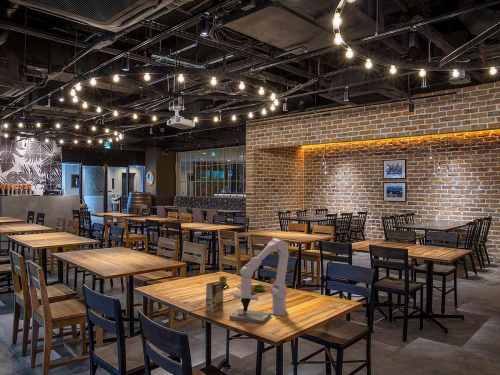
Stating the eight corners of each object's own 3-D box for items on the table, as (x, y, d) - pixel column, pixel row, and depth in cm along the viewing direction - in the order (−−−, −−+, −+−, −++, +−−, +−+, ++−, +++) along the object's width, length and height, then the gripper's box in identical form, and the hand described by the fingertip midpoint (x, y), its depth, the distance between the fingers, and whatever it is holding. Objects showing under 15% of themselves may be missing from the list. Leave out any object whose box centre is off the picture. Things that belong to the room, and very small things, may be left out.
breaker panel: (229, 319, 220) (229, 315, 220) (239, 312, 233) (239, 308, 233) (262, 324, 212) (262, 320, 212) (271, 316, 225) (271, 313, 226)
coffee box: (212, 312, 232) (213, 285, 232) (205, 310, 236) (205, 283, 236) (223, 308, 239) (223, 282, 240) (216, 306, 243) (216, 281, 244)
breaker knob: (237, 314, 222) (237, 308, 222) (241, 311, 228) (241, 305, 228) (242, 314, 221) (242, 309, 221) (246, 311, 227) (246, 306, 227)
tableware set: (204, 286, 296) (204, 278, 296) (231, 281, 315) (231, 273, 316) (242, 297, 267) (242, 288, 267) (269, 290, 286) (269, 282, 286)
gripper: (231, 288, 223) (231, 311, 223) (255, 290, 217) (255, 315, 217) (236, 285, 229) (236, 308, 229) (259, 287, 224) (259, 311, 224)
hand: (245, 311), depth 224 cm, fingers closed
